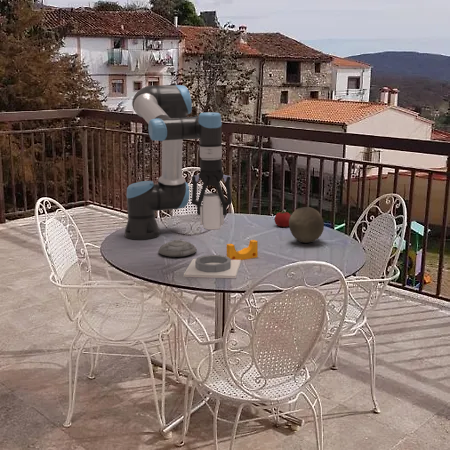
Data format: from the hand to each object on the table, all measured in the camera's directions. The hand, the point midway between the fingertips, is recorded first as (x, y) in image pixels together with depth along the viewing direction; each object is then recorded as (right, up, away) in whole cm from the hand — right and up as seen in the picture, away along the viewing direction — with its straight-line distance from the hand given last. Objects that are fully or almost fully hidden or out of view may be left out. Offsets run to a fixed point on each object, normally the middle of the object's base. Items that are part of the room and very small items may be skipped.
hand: (212, 223), depth 206 cm
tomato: (+32, -1, +64) cm, 71 cm away
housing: (0, -16, +4) cm, 17 cm away
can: (0, -2, 0) cm, 2 cm away
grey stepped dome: (-14, -12, +25) cm, 31 cm away
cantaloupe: (+38, -8, +35) cm, 52 cm away
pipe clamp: (+11, -13, +17) cm, 24 cm away
